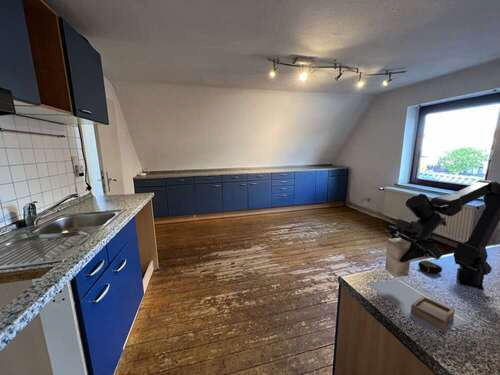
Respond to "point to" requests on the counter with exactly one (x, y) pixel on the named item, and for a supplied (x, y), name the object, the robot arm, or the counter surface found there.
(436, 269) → the tape measure
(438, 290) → the counter surface
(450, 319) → the walnut block
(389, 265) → the beech column
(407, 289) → the board
